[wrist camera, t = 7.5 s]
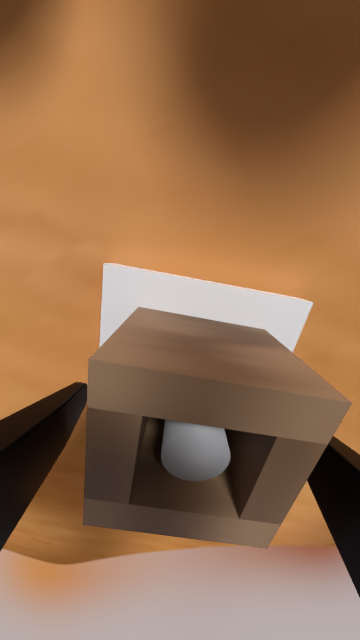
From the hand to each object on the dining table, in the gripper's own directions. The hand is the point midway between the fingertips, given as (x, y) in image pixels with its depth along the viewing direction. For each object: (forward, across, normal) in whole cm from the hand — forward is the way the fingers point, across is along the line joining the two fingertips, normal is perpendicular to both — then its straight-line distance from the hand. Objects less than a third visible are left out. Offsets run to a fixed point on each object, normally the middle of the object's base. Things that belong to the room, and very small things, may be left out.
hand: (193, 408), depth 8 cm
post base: (+4, 0, 0) cm, 4 cm away
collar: (+2, 0, 0) cm, 3 cm away
